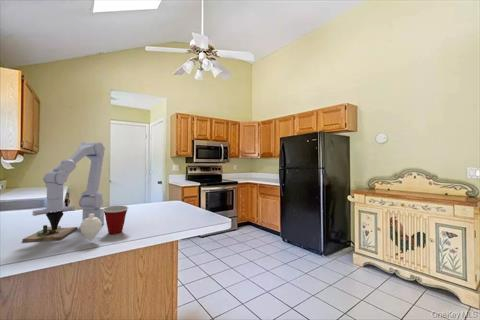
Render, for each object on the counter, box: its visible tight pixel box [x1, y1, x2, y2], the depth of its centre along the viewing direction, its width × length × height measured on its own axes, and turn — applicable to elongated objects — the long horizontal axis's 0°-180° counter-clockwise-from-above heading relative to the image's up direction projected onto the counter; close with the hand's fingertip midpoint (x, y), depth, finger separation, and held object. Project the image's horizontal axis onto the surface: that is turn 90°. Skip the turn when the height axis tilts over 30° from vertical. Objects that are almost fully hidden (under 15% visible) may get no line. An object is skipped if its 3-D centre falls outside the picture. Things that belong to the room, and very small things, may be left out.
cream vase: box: [79, 214, 103, 243], centre depth 97 cm, size 8×8×12 cm
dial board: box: [21, 226, 79, 243], centre depth 106 cm, size 14×16×3 cm
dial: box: [42, 224, 62, 233], centre depth 104 cm, size 10×6×3 cm, turn 14°
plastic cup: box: [102, 205, 129, 235], centre depth 111 cm, size 11×11×12 cm
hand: (54, 229), depth 102 cm, fingers closed
